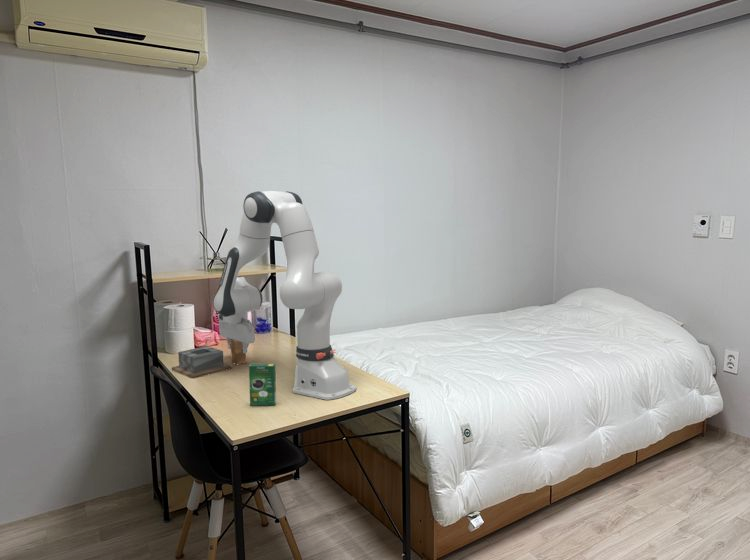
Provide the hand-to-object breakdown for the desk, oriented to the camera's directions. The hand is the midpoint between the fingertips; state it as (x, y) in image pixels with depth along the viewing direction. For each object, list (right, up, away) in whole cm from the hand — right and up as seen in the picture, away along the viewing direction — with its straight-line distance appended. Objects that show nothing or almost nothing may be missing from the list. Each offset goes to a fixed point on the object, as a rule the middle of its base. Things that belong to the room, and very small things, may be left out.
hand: (237, 350), depth 207 cm
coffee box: (+20, -11, -44) cm, 50 cm away
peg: (0, -5, +1) cm, 5 cm away
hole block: (-12, -6, -7) cm, 15 cm away
